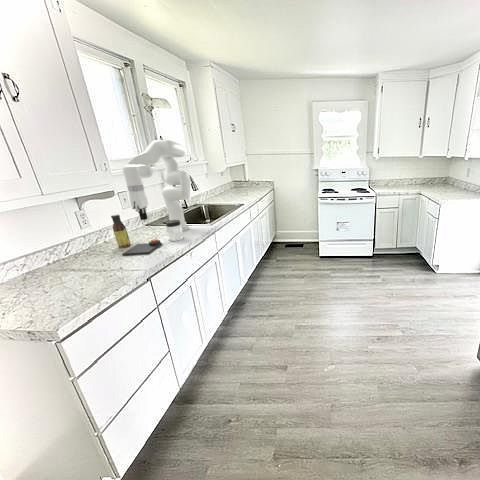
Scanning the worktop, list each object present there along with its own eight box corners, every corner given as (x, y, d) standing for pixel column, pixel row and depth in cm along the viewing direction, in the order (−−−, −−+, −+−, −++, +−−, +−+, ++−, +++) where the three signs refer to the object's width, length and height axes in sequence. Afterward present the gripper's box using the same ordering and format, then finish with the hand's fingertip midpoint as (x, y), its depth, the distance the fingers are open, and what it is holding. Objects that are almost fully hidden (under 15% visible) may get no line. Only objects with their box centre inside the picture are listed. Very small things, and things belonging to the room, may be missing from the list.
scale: (138, 245, 161) (136, 241, 160) (162, 244, 163) (161, 239, 162) (122, 256, 146) (121, 251, 145) (150, 254, 147) (148, 249, 146)
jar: (170, 241, 167) (166, 223, 163) (167, 239, 172) (163, 221, 168) (185, 238, 172) (182, 221, 168) (181, 235, 178) (178, 218, 174)
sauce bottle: (133, 245, 162) (124, 214, 155) (121, 248, 157) (112, 216, 150) (127, 244, 165) (118, 213, 158) (116, 247, 160) (106, 215, 153)
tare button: (153, 241, 160) (152, 239, 160) (158, 241, 160) (157, 238, 160) (150, 243, 157) (150, 240, 157) (156, 242, 158) (155, 240, 157)
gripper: (135, 186, 155) (143, 216, 161) (121, 190, 141) (130, 223, 147) (149, 186, 156) (156, 216, 162) (136, 190, 142) (145, 222, 148)
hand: (144, 219), depth 155 cm, fingers closed
